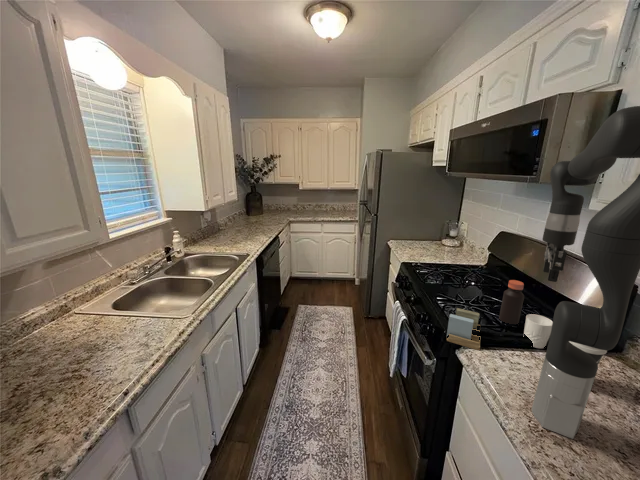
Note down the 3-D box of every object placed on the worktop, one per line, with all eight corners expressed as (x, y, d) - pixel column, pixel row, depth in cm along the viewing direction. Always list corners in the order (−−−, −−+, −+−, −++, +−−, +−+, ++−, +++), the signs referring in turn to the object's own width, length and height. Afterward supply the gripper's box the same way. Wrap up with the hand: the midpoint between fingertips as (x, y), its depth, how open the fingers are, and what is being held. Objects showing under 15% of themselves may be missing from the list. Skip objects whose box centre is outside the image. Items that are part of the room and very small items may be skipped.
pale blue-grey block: (469, 343, 98) (473, 322, 96) (446, 337, 102) (449, 316, 100) (470, 340, 100) (473, 319, 98) (447, 333, 104) (450, 313, 102)
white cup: (538, 337, 103) (543, 314, 100) (553, 350, 95) (559, 326, 93) (516, 336, 104) (521, 313, 101) (530, 349, 96) (535, 325, 94)
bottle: (504, 320, 114) (513, 277, 109) (521, 328, 108) (531, 284, 103) (494, 323, 112) (502, 280, 107) (510, 332, 106) (519, 287, 101)
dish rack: (479, 350, 95) (483, 330, 93) (446, 340, 101) (449, 321, 99) (480, 331, 107) (483, 312, 105) (450, 323, 113) (453, 305, 110)
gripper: (584, 234, 73) (570, 287, 78) (571, 225, 85) (559, 271, 89) (549, 231, 77) (537, 281, 81) (541, 222, 89) (531, 267, 93)
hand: (549, 276), depth 85 cm, fingers open, 8 cm apart
